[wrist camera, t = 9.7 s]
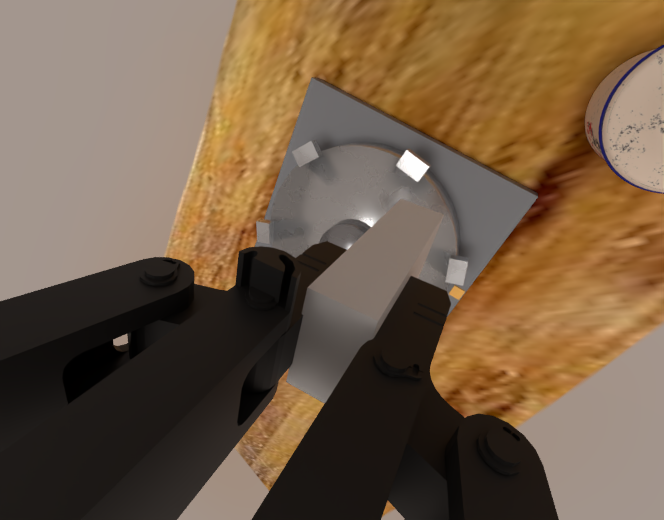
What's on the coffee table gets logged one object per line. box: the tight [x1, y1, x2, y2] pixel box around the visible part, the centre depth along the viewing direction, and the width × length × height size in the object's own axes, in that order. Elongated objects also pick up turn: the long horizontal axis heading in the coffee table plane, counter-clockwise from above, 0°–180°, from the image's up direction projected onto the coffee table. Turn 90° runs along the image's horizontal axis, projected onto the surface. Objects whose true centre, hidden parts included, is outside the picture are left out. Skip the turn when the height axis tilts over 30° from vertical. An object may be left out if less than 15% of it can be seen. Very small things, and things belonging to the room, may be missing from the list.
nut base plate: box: [255, 78, 538, 316], centre depth 42 cm, size 24×24×2 cm
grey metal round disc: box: [256, 140, 469, 290], centre depth 38 cm, size 20×22×8 cm
